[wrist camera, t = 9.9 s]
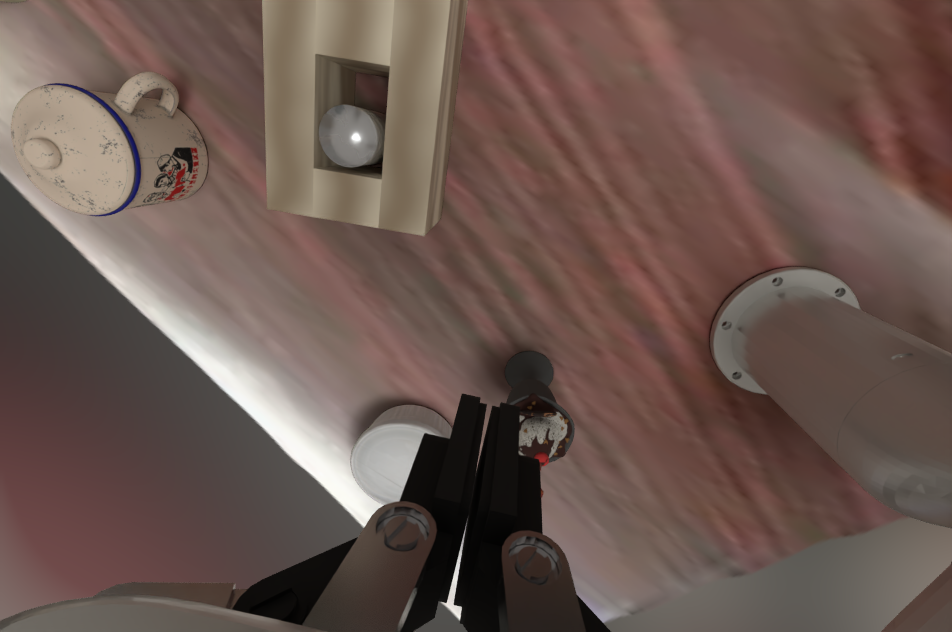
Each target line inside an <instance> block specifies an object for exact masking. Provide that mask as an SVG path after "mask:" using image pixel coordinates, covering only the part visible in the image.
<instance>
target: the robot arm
mask: <svg viewBox="0 0 952 632" xmlns="http://www.w3.org/2000/svg"><path fill="white" fill-rule="evenodd" d="M773 279H774V280H773ZM723 322H724V323H723ZM710 348H711V353H712V357H713V359H714V361H715V363H716V365H717V367H718V368H719V369H720V371H721V372H722V373H723V374H724V375H725V376H726V377H727V378H728V379H729V380H730V381H731V382H732V383H734V384H735V385H737V386H739V387H740V388H742V389H745V390H748V391H750V392H753V393H759V394H765V395H769V396H770V397H771V398H772V399H773V400H774V401H775V402H776V403H777V404H778V405H779V406H780V407H781V408H782V409H783V410H784V411H785V412H786V413H787V414H788V415H789V416H790V417H791V418H792V419H793V420H794V421H795V422H796V423H797V424H798V425H799V426H800V427H801V428H802V429H803V430H804V431H805V432H806V433H807V434H808V435H809V436H810V437H811V438H812V439H813V440H814V441H815V442H816V443H817V444H818V445H819V446H820V447H821V448H822V449H823V450H824V451H825V452H826V453H827V454H828V455H829V456H830V457H831V458H832V459H833V460H834V461H835V462H836V463H837V464H838V465H839V466H841V467H842V468H843V469H844V470H845V471H846V472H847V473H848V474H849V475H850V476H851V477H852V478H853V479H854V480H855V481H856V482H857V483H858V484H859V485H860V486H861V487H862V488H863V489H864V490H865V491H867V492H868V493H869V494H870V495H871V496H873V497H874V498H875V499H877V500H878V501H880V502H881V503H883V504H884V505H886V506H887V507H889V508H891V509H893V510H895V511H897V512H899V513H901V514H903V515H906V516H908V517H911V518H914V519H917V520H920V521H923V522H927V523H930V524H934V525H939V526H943V527H948V528H952V354H951V353H949V352H947V351H945V350H943V349H941V348H939V347H937V346H935V345H933V344H931V343H928V342H926V341H924V340H922V339H920V338H918V337H916V336H914V335H912V334H910V333H908V332H906V331H903V330H901V329H899V328H897V327H895V326H893V325H891V324H889V323H887V322H885V321H883V320H881V319H878V318H876V317H874V316H872V315H870V314H868V313H866V312H864V311H862V310H861V308H860V305H859V303H858V300H857V297H856V296H855V294H854V293H853V292H852V290H851V289H850V287H848V286H847V285H846V284H845V283H844V282H843V281H842V280H840V279H838V278H836V277H835V276H833V275H831V274H829V273H826V272H823V271H821V270H818V269H813V268H807V267H786V268H780V269H775V270H772V271H769V272H766V273H763V274H760V275H758V276H757V277H755V278H753V279H751V280H749V281H747V282H746V283H744V284H743V285H742V286H740V287H739V288H738V289H737V290H735V291H734V292H733V293H732V294H731V295H730V296H729V297H728V298H727V300H726V301H725V302H724V303H723V305H722V306H721V308H720V309H719V311H718V313H717V315H716V317H715V319H714V322H713V324H712V329H711V333H710ZM486 406H487V404H483V403H480V397H475V396H471V395H467V394H462V395H461V399H460V403H459V407H458V410H457V414H456V418H455V421H454V425H453V429H452V433H451V436H450V439H449V438H445V437H440V436H436V435H432V434H427V433H424V435H423V438H422V440H421V443H420V446H419V449H418V451H417V454H416V457H415V460H414V462H413V465H412V468H411V471H410V473H409V476H408V479H407V482H406V484H405V487H404V490H403V493H402V495H401V498H400V501H396V502H392V503H389V504H386V505H384V506H382V507H381V508H379V509H378V510H377V511H376V512H375V513H374V514H373V515H372V517H371V518H370V520H369V521H368V523H367V524H366V526H365V527H364V529H363V531H362V532H361V534H360V535H359V537H357V538H355V539H353V540H351V541H348V542H346V543H344V544H341V545H339V546H337V547H335V548H332V549H330V550H328V551H326V552H324V553H321V554H319V555H317V556H314V557H312V558H310V559H308V560H306V561H303V562H301V563H299V564H296V565H294V566H292V567H290V568H287V569H285V570H283V571H280V572H278V573H276V574H274V575H272V576H269V577H267V578H265V579H263V580H261V581H259V582H257V583H256V584H254V585H252V586H251V587H250V588H249V589H235V583H157V582H156V583H153V582H141V583H140V582H132V583H125V584H118V585H115V586H113V587H110V588H108V589H106V590H103V591H101V592H99V593H98V594H96V595H95V596H93V597H88V598H81V599H74V600H66V601H61V602H57V603H52V604H47V605H44V606H40V607H36V608H33V609H29V610H26V611H23V612H20V613H18V614H15V615H13V616H10V617H8V618H5V619H3V620H1V621H0V632H415V631H416V629H418V628H419V627H421V626H422V625H424V624H425V623H427V622H429V621H430V620H432V619H433V618H435V614H436V610H437V605H438V601H440V602H444V603H447V599H448V595H449V591H450V587H451V583H452V579H453V575H454V571H455V567H456V563H457V559H458V555H459V551H460V547H461V542H462V538H463V534H464V530H465V526H466V522H467V526H466V532H465V538H464V544H463V550H462V556H461V562H460V569H459V575H458V581H457V587H456V593H455V599H454V605H457V606H461V607H462V611H461V618H460V623H461V624H463V625H464V627H465V628H466V630H467V631H468V632H610V630H609V629H608V628H607V627H606V626H605V625H604V624H603V623H602V621H601V620H600V619H599V618H598V617H597V616H596V615H595V614H594V613H593V612H592V611H591V610H590V608H589V607H588V606H587V605H586V604H585V603H584V602H583V601H582V600H581V599H580V598H579V597H578V595H577V594H576V590H575V587H574V583H573V579H572V575H571V571H570V567H569V563H568V561H567V558H566V556H565V553H564V552H563V551H562V549H561V548H560V547H559V546H558V544H556V543H555V542H554V541H553V540H552V539H550V538H549V537H547V536H545V535H543V534H542V508H541V482H540V462H539V459H535V458H531V457H527V456H522V455H519V425H520V407H519V406H515V405H510V404H506V403H502V402H501V404H500V407H496V406H492V410H491V414H490V418H489V422H488V426H487V430H486V434H485V438H484V443H483V447H482V451H481V455H480V459H479V463H478V467H477V462H478V456H479V450H480V444H481V437H482V431H483V425H484V419H485V413H486ZM476 469H477V471H476ZM475 475H476V476H475ZM467 518H468V520H467ZM882 632H952V562H951V565H950V566H949V567H948V568H947V569H946V570H945V571H943V572H942V573H941V574H940V575H939V576H938V577H937V578H936V579H935V580H934V581H933V582H932V583H931V584H930V585H929V586H928V587H926V588H925V589H924V590H923V591H922V592H921V593H920V594H919V595H918V596H917V597H916V598H915V599H914V600H913V601H912V602H910V603H909V605H907V606H906V607H905V608H904V609H903V610H902V611H901V612H900V613H899V614H898V615H897V616H896V617H895V618H894V619H893V620H892V621H891V622H890V623H889V624H888V625H887V626H886V627H885V628H884V629H883V630H882Z"/></svg>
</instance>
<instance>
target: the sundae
mask: <svg viewBox="0 0 952 632" xmlns="http://www.w3.org/2000/svg"><path fill="white" fill-rule="evenodd" d="M505 377H506V380H507V382H508V384H509V385H510V386H511V387H512V388H513V389H512V390H511V392H510V394H509V396H508V399H507V403H506V404H510V405H515V406H519V407H520V425H519V455H522V456H527V457H531V458H535V459H539V462H540V470H541V467H542V466H545V465H547V464H548V463H549V462H552V461H555V460H557V459H559V458H560V457H563V456H564V455H565V454H566V452H567V450H568V449H569V447H570V445H571V443H572V441H573V437H574V430H575V429H574V423H573V421H572V419H571V417H570V416H569V414H568V413H567V412H566V411H565V410H564V409H563V408H562V407H561V406H559V405H558V404H557V403H556V400H555V398H554V396H553V394H552V392H551V391H550V389H549V388H548V386H549V384H550V383H551V381H552V379H553V367H552V364H551V362H550V361H549V360H548V359H547V358H546V357H545V356H544V355H542V354H540V353H537V352H533V351H525V352H521V353H519V354H516V355H515V356H513V357H512V358H511V359H510V360H509V361H508V363H507V365H506V368H505ZM542 495H543V491H542V489H541V498H542Z"/></svg>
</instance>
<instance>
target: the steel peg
mask: <svg viewBox="0 0 952 632" xmlns="http://www.w3.org/2000/svg"><path fill="white" fill-rule="evenodd" d="M385 126H386V114H384V113H381V112H376V111H372V110H368V109H363V108H359V107H355V106H351V105H338V106H335V107H333V108H331V109H330V110H328V111H327V112H326V113H325V115H324V116H323V118H322V120H321V122H320V126H319V140H320V144H321V146H322V148H323V150H324V152H325V154H326V155H327V156H328V157H329V158H330V159H331V160H332V161H333V162H335V163H336V164H338V165H341V166H344V167H358V166H365V165H372V164H379V163H383V155H384V140H385Z"/></svg>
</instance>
